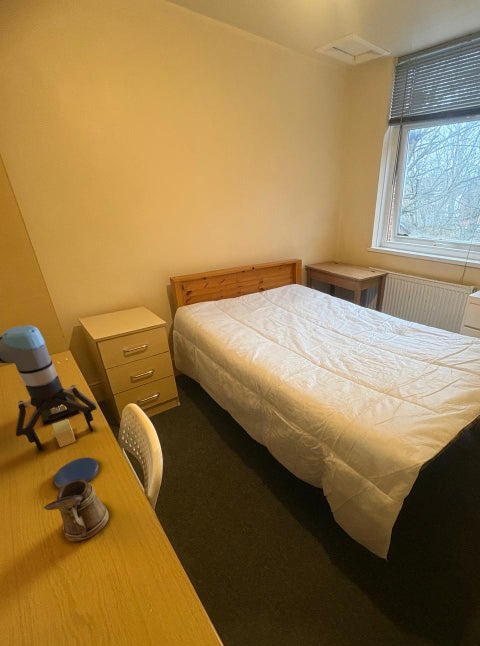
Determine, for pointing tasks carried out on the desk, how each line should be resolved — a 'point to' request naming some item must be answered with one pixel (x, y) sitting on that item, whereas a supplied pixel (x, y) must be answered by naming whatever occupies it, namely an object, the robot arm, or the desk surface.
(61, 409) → the cream block
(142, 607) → the desk surface
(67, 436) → the butter block
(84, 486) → the wooden mug
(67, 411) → the slicer blade
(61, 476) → the saucer
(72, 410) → the slicer
